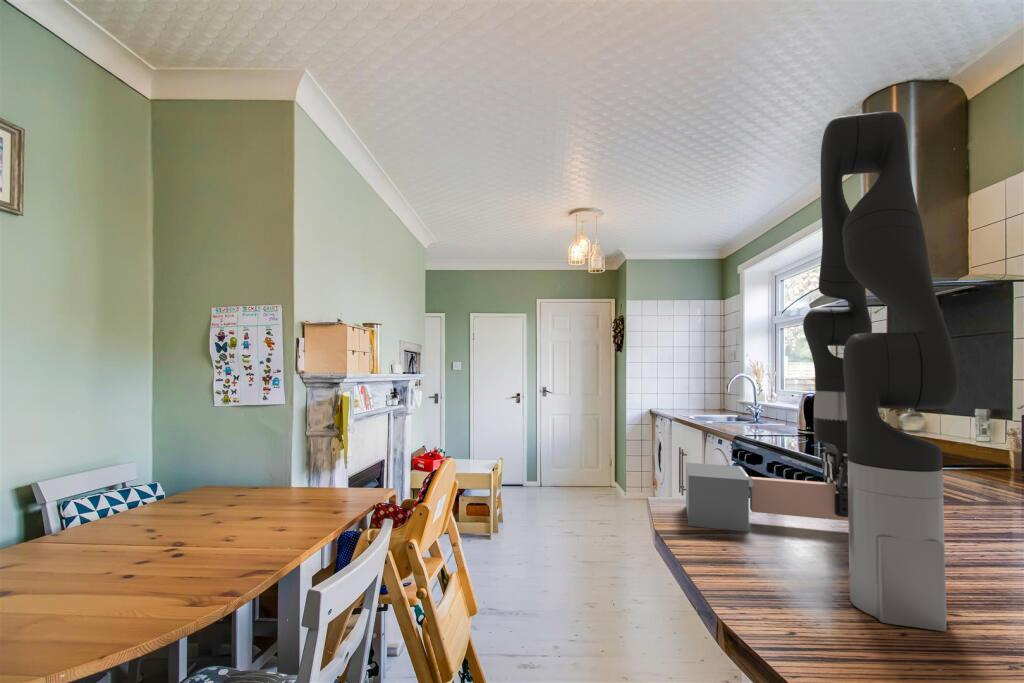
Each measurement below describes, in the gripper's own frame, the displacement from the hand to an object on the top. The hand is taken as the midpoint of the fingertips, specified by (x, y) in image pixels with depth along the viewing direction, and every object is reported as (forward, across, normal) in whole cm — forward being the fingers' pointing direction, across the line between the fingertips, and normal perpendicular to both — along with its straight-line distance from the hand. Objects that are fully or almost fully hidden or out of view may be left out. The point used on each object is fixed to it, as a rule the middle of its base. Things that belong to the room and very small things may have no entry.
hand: (839, 513), depth 91 cm
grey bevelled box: (+3, 0, +21) cm, 21 cm away
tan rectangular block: (+1, 0, +6) cm, 7 cm away
